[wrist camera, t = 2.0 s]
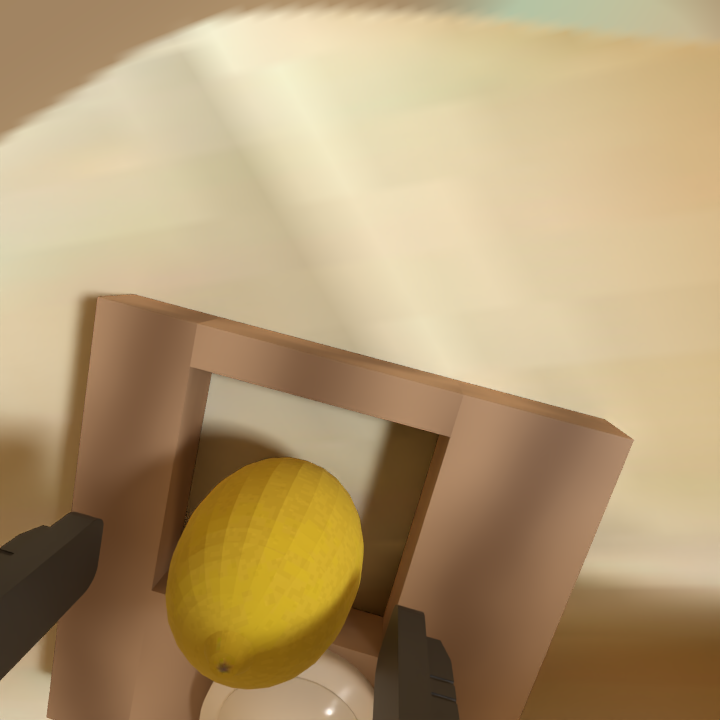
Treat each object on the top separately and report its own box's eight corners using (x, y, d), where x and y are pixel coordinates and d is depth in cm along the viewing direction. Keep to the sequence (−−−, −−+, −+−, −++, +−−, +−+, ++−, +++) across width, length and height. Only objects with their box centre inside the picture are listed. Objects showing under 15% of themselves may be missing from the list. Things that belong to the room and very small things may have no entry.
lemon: (259, 565, 18) (154, 782, 10) (217, 443, 17) (66, 581, 10) (387, 539, 18) (377, 753, 10) (349, 411, 17) (303, 531, 9)
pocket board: (604, 419, 16) (633, 440, 14) (459, 790, 20) (466, 848, 18) (133, 294, 17) (97, 296, 15) (80, 674, 20) (46, 717, 18)
